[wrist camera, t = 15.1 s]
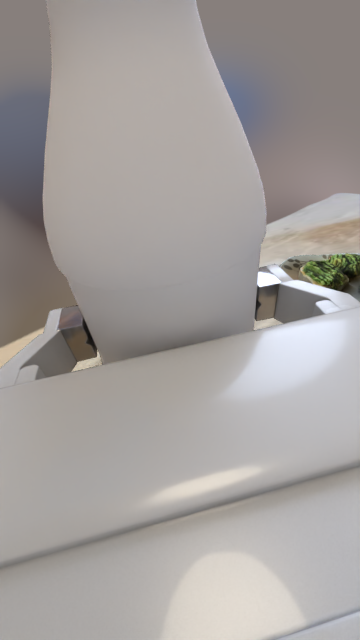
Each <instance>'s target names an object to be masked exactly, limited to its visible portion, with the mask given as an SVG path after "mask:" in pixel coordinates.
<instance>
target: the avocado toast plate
mask: <svg viewBox="0 0 360 640" xmlns="http://www.w3.org/2000/svg"><path fill="white" fill-rule="evenodd" d="M279 267H280V268H281V269H282V270H283V271H284V272H285V273H286V274H288V275H289V276H290V277H291V278H292V279H293V280H300V281H304V282H308V283H311V284H315V285H318V286H322V287H326V288H329V289H333V290H336V291H340V292H344V293H347V294H350V295H351V296H352V297H354V298H355V299H356V300H358V301H359V302H360V254H356V253H343V254H329V255H300V256H294V257H291V258H289V259H287V260H285V261H284V262H283V263H282V264H281V265H280V266H279Z"/></svg>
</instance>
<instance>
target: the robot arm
mask: <svg viewBox="0 0 360 640" xmlns="http://www.w3.org/2000/svg"><path fill="white" fill-rule="evenodd" d="M270 318H274V319H276V320H278V321H280V322H282V323H284V324H280V325H275V326H271V327H267V328H262V329H258V330H254V331H249V332H245V333H240V334H236V335H232V336H227V337H223V338H218V339H214V340H210V341H205V342H201V343H197V344H192V345H188V346H183V347H179V348H175V349H170V350H166V351H161V352H157V353H153V354H148V355H144V356H139V357H135V358H131V359H126V360H122V361H118V362H113V363H109V364H104V365H100V366H96V367H91V368H87V369H82V370H78V371H74V372H71V371H72V370H73V368H74V367H75V365H76V364H77V362H79V361H83V360H87V359H91V358H95V357H97V347H96V345H95V342H94V340H93V338H92V336H91V333H90V331H89V329H88V326H87V324H86V322H85V320H84V317H83V315H82V313H81V311H80V308H79V306H78V305H76V306H71V307H66V308H60V309H56V310H51V311H50V312H49V316H48V319H47V322H46V325H45V328H44V332H43V334H40V335H38V336H37V337H36V338H35V339H34V340H32V341H31V342H30V343H29V344H28V345H27V346H25V347H24V348H23V349H22V350H21V351H20V352H18V353H17V354H16V355H15V356H14V357H13V358H11V359H10V360H9V361H8V362H7V363H6V364H4V365H3V366H2V367H1V368H0V640H360V302H359V301H358V300H356V299H355V298H354V297H352V296H351V295H350V294H347V293H344V292H340V291H336V290H333V289H329V288H326V287H322V286H318V285H315V284H311V283H308V282H304V281H300V280H293V279H292V278H291V277H290V276H289V275H288V274H286V273H285V272H284V271H283V270H282V269H281V268H280V267H279V266H278V265H276V264H273V265H269V266H265V267H260V268H259V272H258V284H257V296H256V308H255V320H256V321H259V320H265V319H270Z"/></svg>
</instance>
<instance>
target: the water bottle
mask: <svg viewBox="0 0 360 640" xmlns="http://www.w3.org/2000/svg"><path fill="white" fill-rule="evenodd" d="M46 5H47V11H48V17H49V25H50V37H51V56H52V74H51V91H50V105H49V115H48V125H47V136H46V147H45V163H44V164H45V165H44V184H43V214H44V224H45V230H46V235H47V239H48V244H49V247H50V250H51V253H52V256H53V259H54V262H55V265H56V266H57V267H58V269H59V270H60V272H61V273H62V274H64V275H65V276H66V279H67V281H68V283H69V285H70V288H71V290H72V292H73V294H74V297H75V299H76V301H77V303H78V306H79V308H80V311H81V313H82V315H83V317H84V320H85V322H86V324H87V326H88V329H89V331H90V333H91V336H92V338H93V340H94V342H95V345H96V347H97V349H98V352H99V354H100V356H101V361H102V365H104V364H109V363H113V362H118V361H122V360H126V359H131V358H135V357H139V356H144V355H148V354H153V353H157V352H161V351H166V350H170V349H175V348H179V347H183V346H188V345H192V344H197V343H201V342H205V341H210V340H214V339H218V338H223V337H227V336H232V335H236V334H240V333H245V332H249V331H254V319H255V308H256V296H257V284H258V272H259V260H260V248H261V244H262V242H263V239H264V237H265V234H266V204H265V197H264V189H263V185H262V182H261V178H260V175H259V171H258V167H257V165H256V162H255V159H254V157H253V154H252V152H251V149H250V146H249V144H248V141H247V138H246V135H245V133H244V130H243V128H242V125H241V122H240V120H239V118H238V116H237V113H236V111H235V109H234V106H233V104H232V102H231V100H230V97H229V95H228V93H227V91H226V88H225V86H224V84H223V81H222V79H221V77H220V74H219V72H218V70H217V67H216V65H215V62H214V60H213V57H212V55H211V52H210V50H209V47H208V45H207V42H206V39H205V35H204V31H203V28H202V25H201V21H200V17H199V14H198V10H197V5H196V0H46Z"/></svg>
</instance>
